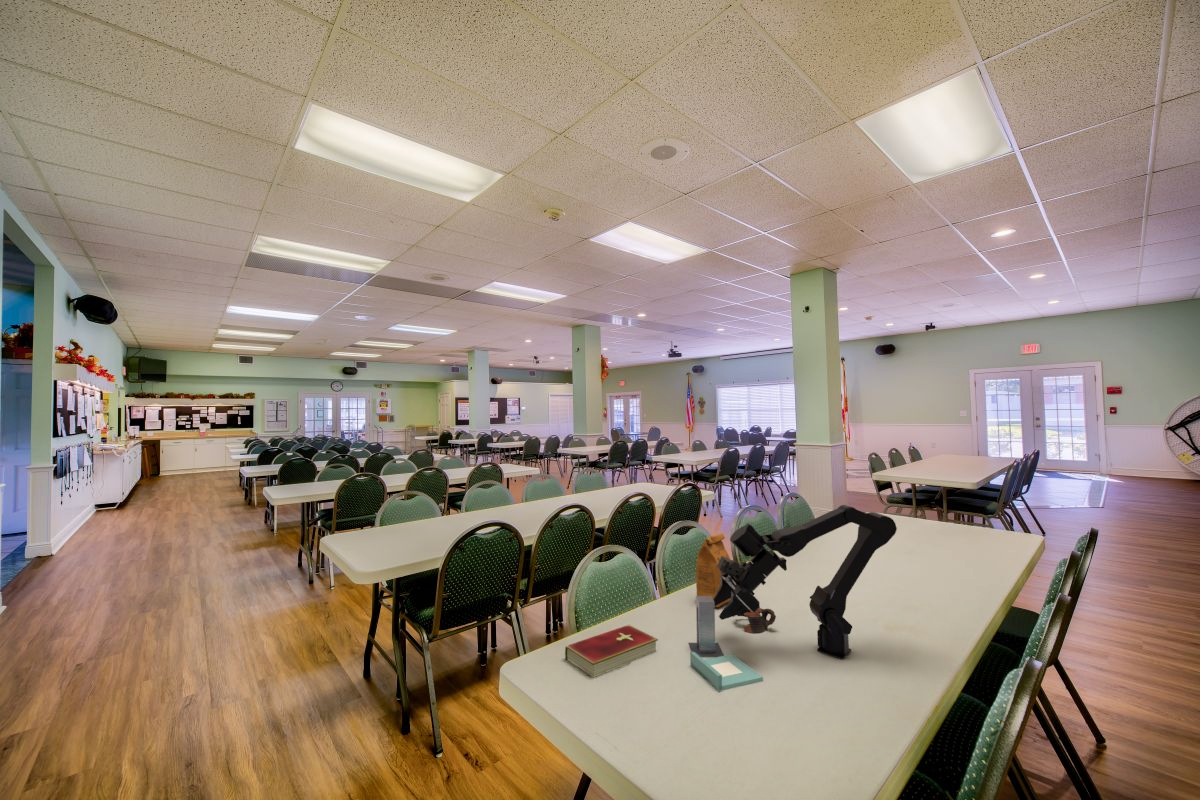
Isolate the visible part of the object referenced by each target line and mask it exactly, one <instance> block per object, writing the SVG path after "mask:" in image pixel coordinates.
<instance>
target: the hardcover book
mask: <svg viewBox="0 0 1200 800" xmlns="http://www.w3.org/2000/svg"><path fill="white" fill-rule="evenodd" d="M657 641H659V639H658V638H656V637H654V636H653V635H650V634H649V633H646V632H644V631H642V630H640V629H638V628H636V627H635V626H633V625H631V624H627V625H624V626H623V625H622V627H618V628H615V629H612V630H609V631H607V632H603V633H601V634H598V635H595V636H594V635H593V636H592V637H591V636H590V637H588V638H586V639H583V640H582V639H581V640H580V641H577V642H574V643H569V644H568V645H565V649H564V658H565V659H564V660H566V661H569V662H570V663H572V664H573V665H575V666H576V667H578V668H579V669H580V670H582V671H583V672H585V673H586V674H588V676H589V675H590V677H592V678H595V677H598V676H600V675H603V674H606V673H608V672H610V671H613V670H615V669H618V668H621V667H624V666H625V665H628V664H631V661H634V660H636V659H640V658H641V657H644V656H646V655H650V654H652V653H654V652H656V651H657V644H656V642H657Z"/></svg>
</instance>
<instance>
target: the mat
mask: <svg viewBox="0 0 1200 800" xmlns="http://www.w3.org/2000/svg"><path fill="white" fill-rule="evenodd" d="M687 643H688V646H689V647H688V648H689V650H690V651H691V652H695V653H696V654H697V655H699V656H700V657H701V658H715V657H720V656H725V655H724V652H723V650H722V648H721V646H720V644H719V642H715V654H700V653H699V648H697V642H687Z"/></svg>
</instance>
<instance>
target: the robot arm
mask: <svg viewBox="0 0 1200 800" xmlns="http://www.w3.org/2000/svg"><path fill="white" fill-rule="evenodd" d="M852 523H853V524H856V525H857V526H858V528H857V538H856V541H855V542H854V544H853V545H852V547H851V548H850V551H849V552H848V554H847V555H846V556H845V558H844V560H843V561H842V564H841V565H840V567H839V568H838V569H837V571H836V573H835V574H834V576H833V578H832V579H831V580H830V582H829V584H828V585H826V586H824V587H821V586H820V585H817V586H816V588H815V589H814V592H813V594H812V595H810V596H809V599H810V602H809V608H810V609H809V610H810V611H811V613H812V614H813V615H814V616H815V617H816V619H817V621H818V622H819V623H820V624H819V625H818V630H817V633H816V634H817V647H818V648H816V649H817V650H816V651H817V652H819V653H820V654H824V655H828V656H830V657H834V658H837V659H841V660H844V659H845V658H846V657H847V656H848V655H849V654H850V653H851V652H852V648H849V646H850V645H849V644H850V643H849V635H850V634H851V632H852V629H853V625H852V624H851V623H850V622H849V621H848V620H847V619H846V618H844V614H845V611H846V608H847V605H846V604H847V598H848V595H849V593H850V592H851V590H852V589H853V588H854V586H855V584H856V583H857V581H858V579H859V578H860V576H861V574H862V572H863V571H864V570H865V568H866V566H867V565H868V564H869V562H870V559H871V558H872V557H873V555H874V554H875V551H877V550H879V549H880V548H881V547H883V546H885V545H886V544H887V543H889V541H890V540H892V538H893V537H894V536H895V535H896V534H897V533H896V532H897V530H898V527H897V526H896V525H897V524H896V522H895V520H894V519H893V518H892V517H889V516H887V515H885V514H882V513H879V512H875V511H870V512H865V511H861V510H858V509H856V508H855V507H853V506H850V505H849V504H848V505H847V504H842V505H839V506H838V507H837V508H835V509H833V510H831V511H828V512H826V513H824V514H822V515H819V516H817V517H816V518H813V519H811V520H809V521H807V522H805V523H802V524H800V525H796V526H789V527H783V528H779V529H777V530H775V531H774V530H773V532H772V533H770V534H769V533H768V534H762V535H760V534H759V533H758V532H757V531H756V530H755V529H756V528H754V527H753V526H752V525H751V524H750V523H749V522H748V523H747V524H745V525H743V526H741V527H740V528H738V529H736V530H735V531H734V532H733V533H732V535H731V536H730V538H729V541H730V542H731V543H732V544H733V545H734V546H735V547H736V548H737V550H739V552H741V553H742V554H743V555H744V556H745V557H746V558H747V557H751V559H750V560H749V561H748V562H746V561H742V562H741V563H740V562H738V561H736V560H734V559H733V560H732V559H731V558H730V559H731V560H730V559H728V558H726V557H724V556H721V559H720V561H719V563H718V565H717V567H718V568H719V570H720V571H721V572H720V573H721V575H722V576H723V577H722V576H721V575H720V580H721V585H720V587H719V589H718V591H717V593H716V595H715V597H714V599H713V600H714V602H715V606H716V605H718V604H720V603H722V602H724V601H726V600H728V599H729V598H731V600H730V601H729V602H727V603H726V605H725V607H724V608H723V609H722V610H721V613H719V615H718V618H719V619H720V620H726V619H729V618H732V617H733V616H734V617H735V616H736V617H737V615H739V614H743V613H747V612H749V613H750V612H751V611H750V609H751V610H752V611H753V612H754V613H755V612H756V611H757V609H758V608H759V606H760V601H759V600H758V598H757V597H756V596H755V595H756V593H755V592H754V591H755V590H756V589H757V588H758V587H759V586H760V585H762V586H764V585H766V583H767V582H766V581H765V580H766V579H767V578H768V577H769V576H770V575H771V574H772V573H773V572H774V571H775V569H777V568H778V567H780V568H781V569H782V570H784V571H787V570H788V569H787V559H786V558H784V557H787V558H791V557H794V556H795V555H796V554H798V553H799V552H801V551H802V550H803V549H804V548H805V547H806V546H807V545H808V544H809V543H810V542H812V541H814V540H815V539H818V538H820V537H823V536H824V535H826V534H829V533H831V532H833V531H835V530H837V529H840V528H842V527H844V526H846V525H848V524H852ZM765 547H767V548H768V549H770V550H767V549H766V548H765ZM776 552H777V553H779V554H780V555H781V556H783V557H780V556H779V555H778V554H777V553H776ZM734 617H733V618H734Z"/></svg>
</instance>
